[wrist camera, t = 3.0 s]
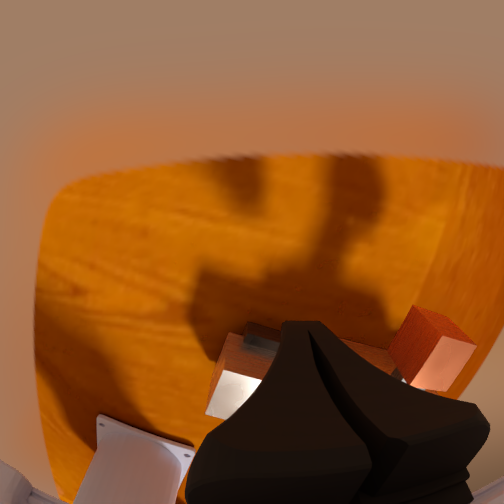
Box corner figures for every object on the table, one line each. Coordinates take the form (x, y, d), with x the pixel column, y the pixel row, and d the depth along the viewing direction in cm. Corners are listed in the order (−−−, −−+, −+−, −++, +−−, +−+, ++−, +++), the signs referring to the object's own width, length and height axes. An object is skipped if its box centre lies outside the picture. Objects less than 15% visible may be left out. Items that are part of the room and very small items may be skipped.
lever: (355, 446, 13) (365, 479, 11) (316, 442, 13) (323, 479, 10) (448, 317, 11) (478, 345, 8) (410, 304, 10) (440, 335, 8)
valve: (391, 417, 18) (412, 465, 14) (208, 381, 17) (196, 444, 12) (433, 360, 17) (467, 406, 12) (236, 307, 16) (230, 366, 11)
